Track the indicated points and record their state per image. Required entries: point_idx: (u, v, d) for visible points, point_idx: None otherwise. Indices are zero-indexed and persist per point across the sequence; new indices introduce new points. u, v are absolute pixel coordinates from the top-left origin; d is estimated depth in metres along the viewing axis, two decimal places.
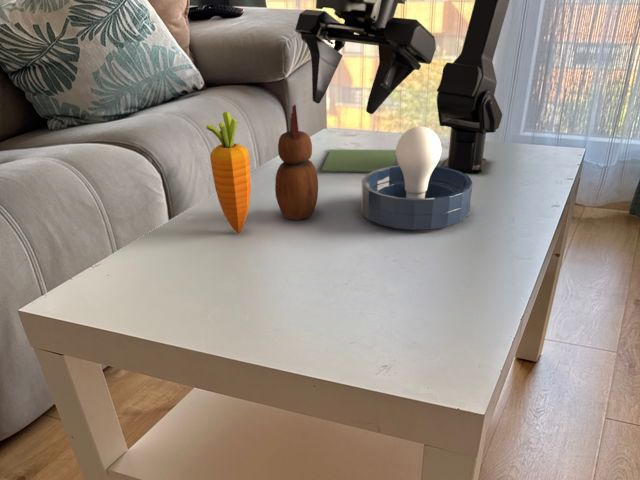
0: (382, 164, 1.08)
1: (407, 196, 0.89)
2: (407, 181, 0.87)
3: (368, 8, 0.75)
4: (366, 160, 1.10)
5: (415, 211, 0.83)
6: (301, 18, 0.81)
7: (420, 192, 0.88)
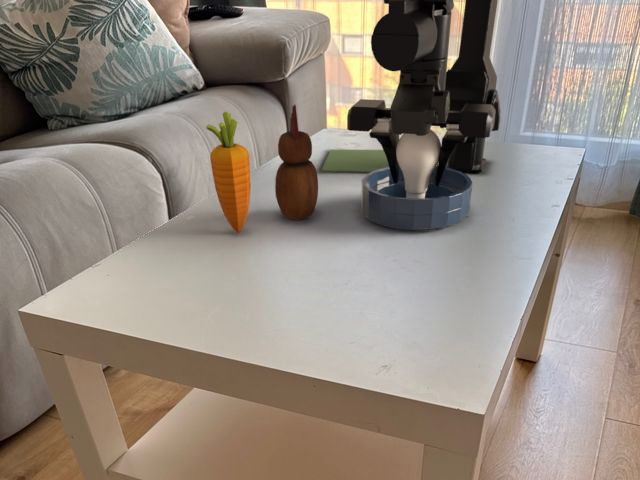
0: (382, 164, 1.08)
1: (407, 196, 0.89)
2: (407, 181, 0.87)
3: None
4: (366, 160, 1.10)
5: (415, 211, 0.83)
6: (354, 120, 0.83)
7: (420, 192, 0.88)
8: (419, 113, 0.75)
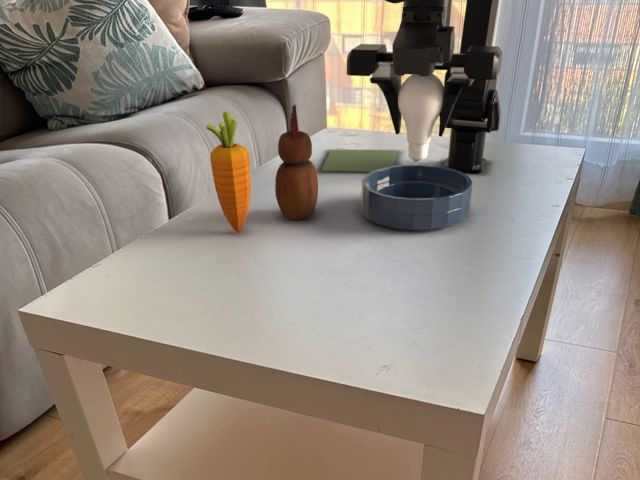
0: (382, 164, 1.08)
1: (409, 147, 0.85)
2: (410, 131, 0.84)
3: None
4: (366, 160, 1.10)
5: (415, 211, 0.83)
6: (354, 64, 0.79)
7: (423, 143, 0.84)
8: (422, 50, 0.71)
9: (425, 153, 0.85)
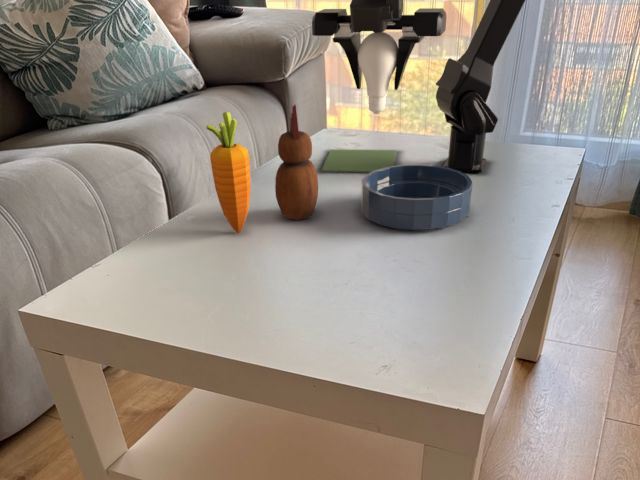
0: (382, 164, 1.08)
1: (369, 100, 0.97)
2: (369, 85, 0.95)
3: None
4: (366, 160, 1.10)
5: (415, 211, 0.83)
6: (318, 25, 0.91)
7: (381, 96, 0.96)
8: (375, 9, 0.83)
9: (383, 105, 0.97)
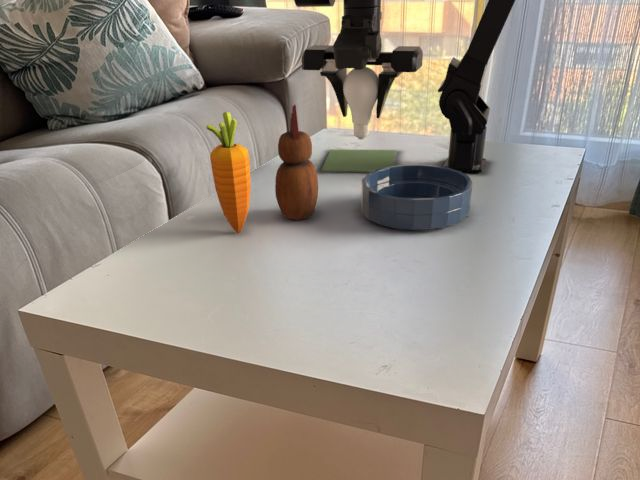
0: (382, 164, 1.08)
1: (354, 127, 1.07)
2: (353, 113, 1.05)
3: None
4: (366, 160, 1.10)
5: (415, 211, 0.83)
6: (307, 60, 1.01)
7: (364, 123, 1.06)
8: (355, 50, 0.93)
9: (366, 132, 1.07)
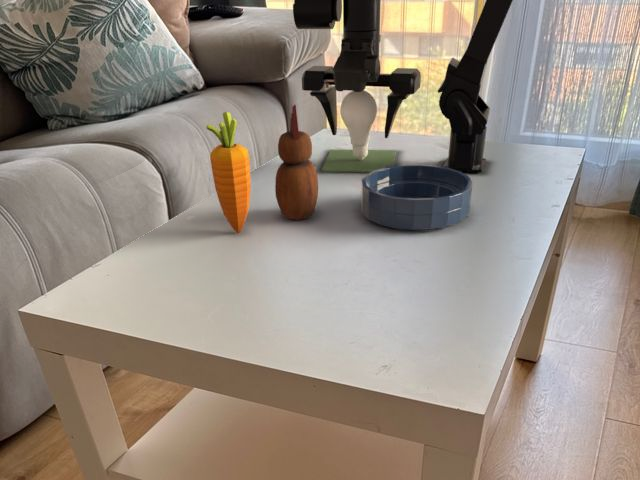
0: (382, 164, 1.08)
1: (353, 148, 1.09)
2: (351, 135, 1.07)
3: None
4: (366, 160, 1.10)
5: (415, 211, 0.83)
6: (307, 81, 1.03)
7: (363, 144, 1.08)
8: (355, 73, 0.95)
9: (365, 152, 1.09)
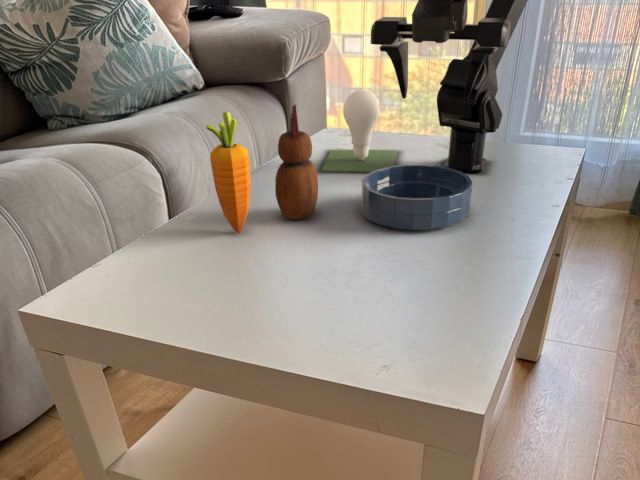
0: (382, 164, 1.08)
1: (354, 148, 1.09)
2: (353, 135, 1.07)
3: None
4: (366, 160, 1.10)
5: (415, 211, 0.83)
6: (377, 33, 0.89)
7: (364, 145, 1.08)
8: (438, 19, 0.81)
9: (366, 153, 1.09)
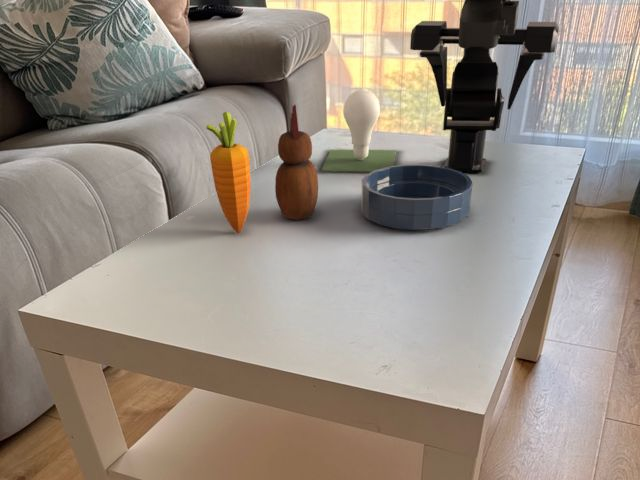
0: (382, 164, 1.08)
1: (354, 148, 1.09)
2: (353, 135, 1.07)
3: None
4: (366, 160, 1.10)
5: (415, 211, 0.83)
6: (418, 38, 0.84)
7: (364, 145, 1.08)
8: (489, 23, 0.76)
9: (366, 153, 1.09)
